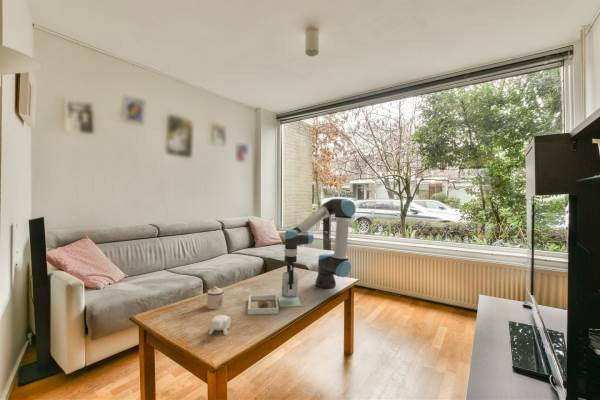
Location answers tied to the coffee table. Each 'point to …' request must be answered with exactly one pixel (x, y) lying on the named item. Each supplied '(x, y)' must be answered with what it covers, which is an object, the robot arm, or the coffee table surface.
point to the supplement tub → (285, 285)
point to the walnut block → (263, 304)
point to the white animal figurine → (220, 323)
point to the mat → (289, 302)
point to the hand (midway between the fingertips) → (289, 291)
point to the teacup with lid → (215, 298)
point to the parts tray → (263, 310)
